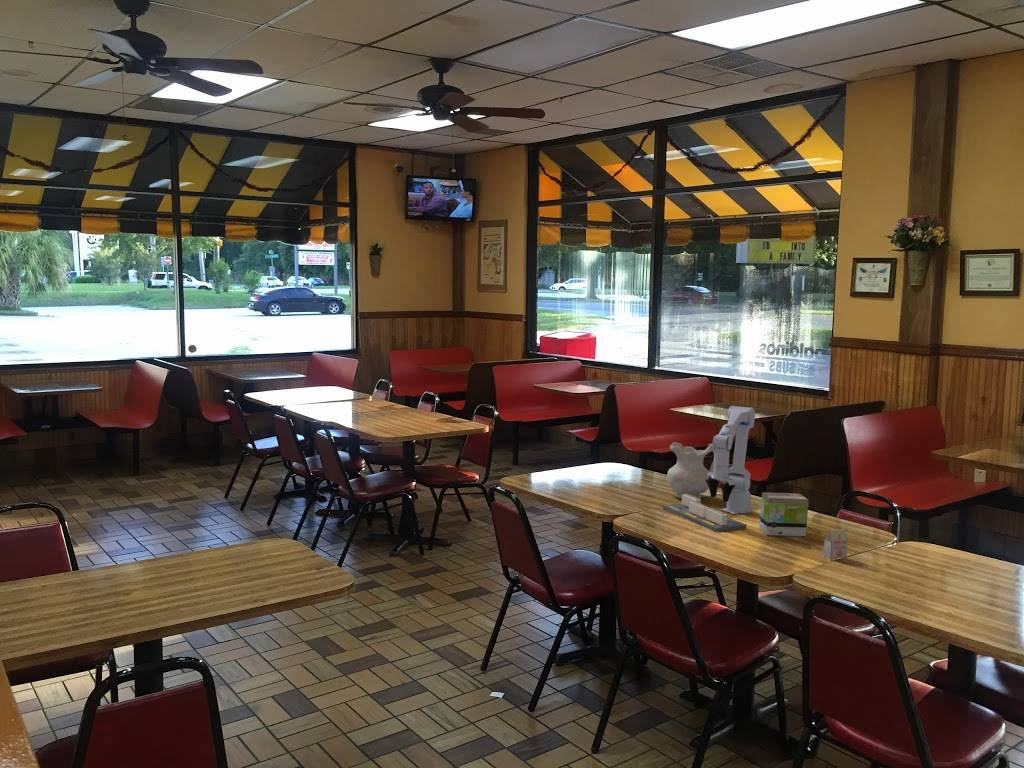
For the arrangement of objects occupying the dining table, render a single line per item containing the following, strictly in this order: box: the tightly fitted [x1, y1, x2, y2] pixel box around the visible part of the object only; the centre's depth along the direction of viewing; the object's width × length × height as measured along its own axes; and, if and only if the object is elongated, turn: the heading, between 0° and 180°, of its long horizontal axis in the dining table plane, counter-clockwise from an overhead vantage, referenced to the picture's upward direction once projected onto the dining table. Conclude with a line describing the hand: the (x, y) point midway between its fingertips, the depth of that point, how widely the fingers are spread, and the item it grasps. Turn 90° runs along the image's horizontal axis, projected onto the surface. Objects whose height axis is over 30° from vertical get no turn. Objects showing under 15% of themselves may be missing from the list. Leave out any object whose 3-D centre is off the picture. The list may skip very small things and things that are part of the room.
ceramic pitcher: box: [666, 441, 714, 500], centre depth 382 cm, size 22×20×25 cm
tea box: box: [758, 492, 809, 537], centre depth 328 cm, size 15×10×15 cm, turn 92°
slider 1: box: [681, 494, 702, 507], centre depth 358 cm, size 2×10×5 cm, turn 24°
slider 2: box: [689, 501, 710, 518], centre depth 346 cm, size 2×10×5 cm, turn 24°
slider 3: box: [706, 507, 728, 525], centre depth 336 cm, size 2×10×5 cm, turn 24°
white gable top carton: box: [822, 528, 849, 559], centre depth 299 cm, size 4×7×10 cm, turn 107°
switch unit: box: [662, 503, 747, 533], centre depth 347 cm, size 14×36×2 cm, turn 24°
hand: (719, 499), depth 339 cm, fingers open, 7 cm apart
